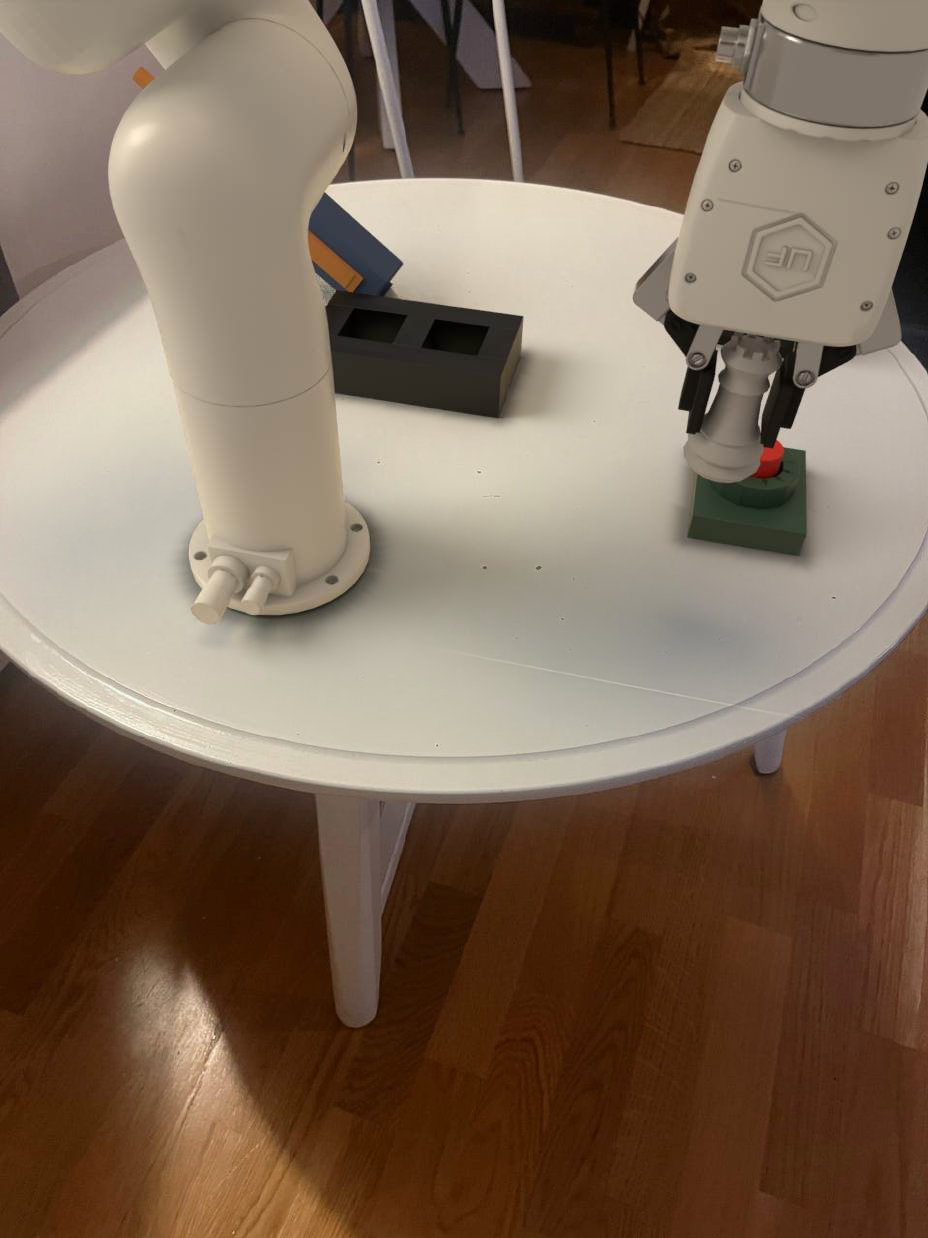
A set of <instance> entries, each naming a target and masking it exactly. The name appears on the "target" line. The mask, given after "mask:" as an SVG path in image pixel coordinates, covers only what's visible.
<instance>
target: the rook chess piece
mask: <svg viewBox="0 0 928 1238" xmlns="http://www.w3.org/2000/svg"><path fill="white" fill-rule="evenodd" d="M743 334H744V333H742V332H736V331H735V333H734V336H732V338H731V341H729V342H728V343H726V344H725V345H724V344H723V346H722V347H721V349H720V350H719V352H720V357H721V359H722V361H723V364H724V368H723V369H721V370H720V372H719V373H718V374H717V379H718V380H717V381H718V383H719V385H718V387H717V391H716V394H715V395H714V396H715V397H714V398H713V401H712V403H711V405H710V407H709V410H708V411H707V412H705V415H704V419H703V422H702V426H701V429H700V433H696V434H695V435H693V434H688V433H687V441H686V442H685V444H684V445H683V447H682V448H683V449H682V450H683V457H684V459H685V461H686V462H687V464H688V466H689V467H690V468H691V470H692V471H693V472H694V473H695V472H696V473H697V474H699V475H700V476H702V477H703V478H706V479H709V480H712V481H715V482H723V483H732V482H738V481H741V480H743V479H745V478H747V477H748V476H750V475H752V474H754V473H755V472H756V471H757V469H758V468H759V466H760V459H759V458H760V457H761V455H762V453H763V444H760V439H761V426H760V425H759V421H760V420H759V419H760V412H761V407H762V401H763V399H764V394H765V393H767V392H768V391H769V390H770V389H771V382H770V379H769V377H770V375H772V374H773V373H776V370H778V369H779V368H780V366H781V365H782V363H783V362H782V361H783V357H781V355H780V353H779V348H780V340H774V342H773V339H774V338H772V337H766V336H764V338H761V337H758V336H757V335H754V334H748V333H747V335H744V336H743Z"/></svg>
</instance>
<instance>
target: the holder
mask: <svg viewBox="0 0 928 1238" xmlns="http://www.w3.org/2000/svg"><path fill="white" fill-rule="evenodd" d="M334 291H335V292H334V293H333V295H332V296H331V298H330V299H329V301H328V302H327V304H326V305H325V309H326V315H327V322H328V330H329V340H330V351H331V357H332V367H333V378H334V390H335V394H341V395H342V394H343V395H348V396H349V395H350V396H355V397H362V398H366V399H375V400H380V401H386V402H387V401H388V402H393V403H400V404H406V405H411V406H412V405H413V406H418V407H424V408H425V407H426V408H431V409H432V408H433V409H439V410H446V411H450V412H451V411H452V412H457V413H458V412H459V413H464V414H471V415H477V416H483V417H490V418H496V419H499V417H500V414H501V412H502V409H503V408H504V407H503V406H504V405H505V404H504V403H505V401H506V399H507V395H508V393H509V390H510V387H511V384H512V381H513V379H514V377H515V373H516V371H517V367H518V365H519V363H520V359H521V358H522V343H523V330H524V329H523V328H524V315H519V314H511V313H504V312H497V311H490V310H482V309H475V308H467V307H460V306H454V305H448V304H440V303H433V302H425V301H419V300H410V299H403V298H400V299H397V298H390V297H383V296H375V295H368V294H361V293H354V292H347V291H339V290H334Z"/></svg>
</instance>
